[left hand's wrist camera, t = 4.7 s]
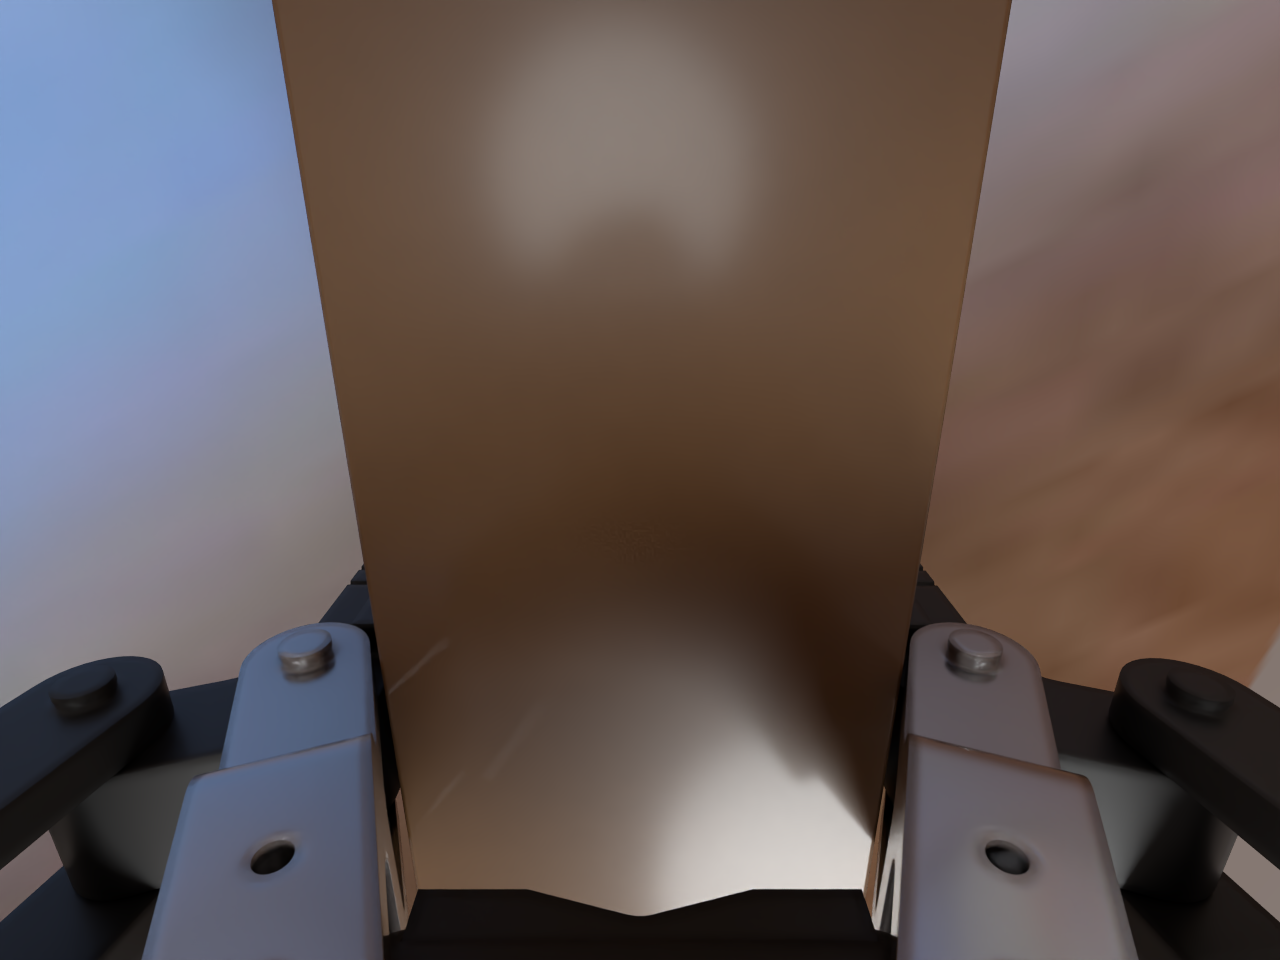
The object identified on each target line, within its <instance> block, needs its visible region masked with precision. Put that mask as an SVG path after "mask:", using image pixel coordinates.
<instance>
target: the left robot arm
mask: <svg viewBox="0 0 1280 960" xmlns="http://www.w3.org/2000/svg"><path fill="white" fill-rule="evenodd" d="M884 787H885V789H886V791H885V797H884V803H883V809H882V815H881V825H880V835H879V846H878V857H877V867H876V878H875V888H874V899H873V909H872V919H871V916H870V913H869V910H868V907H867V904H866V901H865V898H864V895H863V891H862V889H751V890H747V891H743V892H739V893H736V894H732V895H728V896H724V897H720V898H716V899H712V900H708V901H704V902H700V903H696V904H692V905H688V906H684V907H680V908H676V909H672V910H668V911H664V912H660V913H657V914H653V915H647V916H633V915H627V914H623V913H620V912H616V911H612V910H608V909H604V908H600V907H596V906H592V905H588V904H584V903H580V902H576V901H572V900H568V899H564V898H560V897H556V896H552V895H548V894H544V893H541V892H537V891H533V890H529V889H418V891H417V895H416V898H415V901H414V904H413V907H412V910H411V913H410V916H409V919H408V909H407V899H406V888H405V877H404V867H403V856H402V846H401V835H400V825H399V815H398V809H397V803H396V796H397V794H398V791H399V789H400V782H399V775H398V769H397V763H396V757H395V751H394V745H393V739H392V733H391V727H390V720H389V714H388V708H387V702H386V696H385V690H384V684H383V678H382V671H381V665H380V659H379V653H378V647H377V641H376V635H375V629H374V622H373V616H372V610H371V604H370V598H369V592H368V586H367V580H366V573H365V567H364V564H363V565H362V570H359V571H358V572H357V573H356V575H355V576H354V577H353V579H352V580H351V584H350V585H347V586H346V588H345V589H344V590H343V592H342V593H341V594H340V596H339V597H338V598H337V599H336V601H335V602H334V603H333V605H332V606H331V607H330V609H329V610H328V611H327V613H326V614H325V615H324V616H323V618H322V619H321V620H320V622H319V623H316V624H309V625H305V626H301V627H297V628H294V629H291V630H288V631H285V632H283V633H280V634H278V635H276V636H274V637H272V638H270V639H268V640H266V641H265V642H263V643H261V644H260V645H259V646H257V647H256V648H255V649H254V650H252V651H251V653H250V654H249V655H248V656H247V657H246V658H245V660H244V661H243V663H242V666H241V668H240V673H239V677H238V678H234V679H230V680H225V681H220V682H215V683H209V684H204V685H199V686H194V687H189V688H183V689H178V690H173V691H169V690H168V686H167V683H166V680H165V676H164V673H163V670H162V668H161V666H160V665H159V664H158V663H157V662H156V661H153V660H151V659H148V658H144V657H136V656H123V657H114V658H107V659H102V660H97V661H93V662H90V663H86V664H83V665H80V666H77V667H74V668H71V669H68V670H66V671H64V672H61V673H59V674H57V675H55V676H52V677H50V678H48V679H46V680H45V681H43V682H41V683H39V684H38V685H36V686H34V687H33V688H31V689H29V690H28V691H26V692H25V693H23V694H21V695H20V696H18V697H17V698H15V699H14V700H12V701H10V702H9V703H7V704H6V705H4V706H2V707H1V708H0V870H1V869H2V868H3V867H4V866H5V865H7V864H8V863H9V862H10V861H12V860H13V859H14V858H15V857H16V856H18V855H19V854H20V853H21V852H22V851H24V850H25V849H26V848H27V847H28V846H30V845H31V844H32V843H33V842H34V841H36V840H37V839H38V838H39V837H40V836H42V835H43V834H44V833H45V832H46V831H48V830H49V832H50V834H51V836H52V839H53V841H54V844H55V846H56V849H57V851H58V853H59V856H60V858H61V861H62V863H63V867H61V868H60V869H59V870H58V871H57V872H56V873H55V874H54V875H53V876H51V877H50V878H49V879H48V880H47V881H46V882H45V883H44V884H43V885H41V886H40V887H39V888H38V889H37V890H36V891H35V892H34V893H32V894H31V895H30V896H29V897H28V898H27V899H26V900H25V901H24V902H22V903H21V904H20V905H19V906H18V907H17V908H16V909H15V910H13V911H12V912H11V913H10V914H9V915H8V916H7V917H6V918H5V919H3V920H2V921H1V922H0V960H141V959H142V960H1138V959H1139V960H1280V922H1279V921H1278V920H1277V919H1275V918H1274V917H1273V916H1272V915H1271V914H1270V913H1269V912H1268V911H1267V910H1265V909H1264V908H1263V907H1262V906H1261V905H1260V904H1259V903H1258V902H1257V901H1255V900H1254V899H1253V898H1252V897H1251V896H1250V895H1249V894H1248V893H1246V892H1245V891H1244V890H1243V889H1242V888H1241V887H1240V886H1239V885H1237V884H1236V883H1235V882H1234V881H1233V880H1232V879H1231V878H1230V877H1228V876H1227V875H1226V874H1225V873H1224V872H1223V869H1224V867H1225V865H1226V862H1227V860H1228V857H1229V855H1230V853H1231V850H1232V848H1233V845H1234V843H1235V841H1236V838H1237V836H1240V837H1241V838H1242V839H1243V840H1244V841H1246V842H1247V843H1248V844H1249V845H1250V846H1252V847H1253V848H1254V849H1255V850H1256V851H1258V852H1259V853H1260V854H1261V855H1262V856H1264V857H1265V858H1266V859H1267V860H1269V861H1270V862H1271V863H1272V864H1273V865H1275V866H1276V867H1277V868H1278V869H1279V870H1280V708H1279V707H1278V706H1276V705H1274V704H1273V703H1271V702H1270V701H1268V700H1266V699H1265V698H1263V697H1262V696H1260V695H1259V694H1257V693H1255V692H1254V691H1252V690H1251V689H1249V688H1247V687H1246V686H1244V685H1242V684H1240V683H1239V682H1237V681H1235V680H1233V679H1231V678H1229V677H1227V676H1224V675H1222V674H1220V673H1217V672H1215V671H1212V670H1209V669H1206V668H1203V667H1200V666H1197V665H1193V664H1190V663H1186V662H1181V661H1176V660H1170V659H1161V658H1146V659H1139V660H1134V661H1131V662H1129V663H1127V664H1126V665H1125V666H1124V667H1123V668H1122V670H1121V672H1120V675H1119V678H1118V681H1117V685H1116V688H1115V691H1114V692H1112V691H1107V690H1101V689H1096V688H1091V687H1086V686H1080V685H1075V684H1070V683H1065V682H1060V681H1056V680H1051V679H1047V678H1044V677H1041V673H1040V668H1039V666H1038V663H1037V661H1036V660H1035V658H1034V657H1033V656H1032V655H1031V654H1030V652H1029V651H1028V650H1026V649H1025V648H1024V647H1023V646H1021V645H1020V644H1019V643H1017V642H1015V641H1014V640H1012V639H1010V638H1008V637H1006V636H1004V635H1002V634H1000V633H997V632H995V631H992V630H990V629H986V628H983V627H979V626H975V625H971V624H967V623H966V622H965V621H964V620H963V618H962V617H961V616H960V614H959V613H958V612H957V611H956V609H955V608H954V607H953V605H952V604H951V603H950V602H949V600H948V599H947V598H946V596H945V595H944V594H943V593H942V591H941V590H940V589H939V587H938V586H934V581H933V580H932V578H931V577H930V576H929V574H928V573H927V572H926V571H923V567H922V565H921V564H920V566H919V572H918V578H917V585H916V591H915V597H914V603H913V609H912V615H911V621H910V627H909V634H908V640H907V646H906V652H905V658H904V664H903V670H902V676H901V683H900V689H899V695H898V701H897V707H896V713H895V719H894V725H893V731H892V738H891V744H890V750H889V756H888V762H887V768H886V774H885V780H884Z"/></svg>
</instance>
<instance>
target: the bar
mask: <svg viewBox="0 0 1280 960" xmlns="http://www.w3.org/2000/svg"><path fill="white" fill-rule="evenodd" d="M1011 3H1012V0H272V4H273V10H274V16H275V22H276V29H277V35H278V41H279V47H280V53H281V59H282V65H283V71H284V78H285V84H286V90H287V96H288V102H289V108H290V114H291V120H292V127H293V133H294V139H295V145H296V151H297V157H298V163H299V169H300V176H301V182H302V188H303V194H304V200H305V206H306V212H307V218H308V225H309V231H310V237H311V243H312V249H313V255H314V261H315V267H316V273H317V280H318V286H319V292H320V298H321V304H322V310H323V316H324V322H325V329H326V335H327V341H328V347H329V353H330V359H331V365H332V371H333V378H334V384H335V390H336V396H337V402H338V408H339V414H340V420H341V427H342V433H343V439H344V445H345V451H346V457H347V463H348V469H349V476H350V482H351V488H352V494H353V500H354V506H355V512H356V518H357V524H358V531H359V537H360V543H361V549H362V555H363V561H364V567H365V573H366V580H367V586H368V592H369V598H370V604H371V610H372V616H373V622H374V629H375V635H376V641H377V647H378V653H379V659H380V665H381V671H382V678H383V684H384V690H385V696H386V702H387V708H388V714H389V720H390V727H391V733H392V739H393V745H394V751H395V757H396V763H397V769H398V775H399V782H400V788H401V794H402V800H403V806H404V812H405V818H406V824H407V831H408V837H409V843H410V849H411V855H412V861H413V867H414V873H415V880H416V886H417V891H418V889H529V890H533V891H537V892H541V893H544V894H548V895H552V896H556V897H560V898H564V899H568V900H572V901H576V902H580V903H584V904H588V905H592V906H596V907H600V908H604V909H608V910H612V911H616V912H620V913H623V914H627V915H633V916H647V915H653V914H657V913H660V912H664V911H668V910H672V909H676V908H680V907H684V906H688V905H692V904H696V903H700V902H704V901H708V900H712V899H716V898H720V897H724V896H728V895H732V894H736V893H739V892H743V891H747V890H751V889H862V891H863V895H864V898H865V897H866V891H867V885H868V878H869V872H870V866H871V860H872V854H873V848H874V842H875V836H876V829H877V823H878V817H879V811H880V805H881V799H882V793H883V787H884V780H885V774H886V768H887V762H888V756H889V750H890V744H891V738H892V731H893V725H894V719H895V713H896V707H897V701H898V695H899V689H900V683H901V676H902V670H903V664H904V658H905V652H906V646H907V640H908V634H909V627H910V621H911V615H912V609H913V603H914V597H915V591H916V585H917V578H918V572H919V566H920V560H921V554H922V548H923V542H924V536H925V529H926V523H927V517H928V511H929V505H930V499H931V493H932V487H933V480H934V474H935V468H936V462H937V456H938V450H939V444H940V438H941V431H942V425H943V419H944V413H945V407H946V401H947V395H948V389H949V382H950V376H951V370H952V364H953V358H954V352H955V346H956V340H957V333H958V327H959V321H960V315H961V309H962V303H963V297H964V291H965V284H966V278H967V272H968V266H969V260H970V254H971V248H972V242H973V235H974V229H975V223H976V217H977V211H978V205H979V199H980V193H981V186H982V180H983V174H984V168H985V162H986V156H987V150H988V144H989V137H990V131H991V125H992V119H993V113H994V107H995V101H996V95H997V88H998V82H999V76H1000V70H1001V64H1002V58H1003V52H1004V46H1005V39H1006V33H1007V27H1008V21H1009V15H1010V9H1011Z"/></svg>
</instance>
